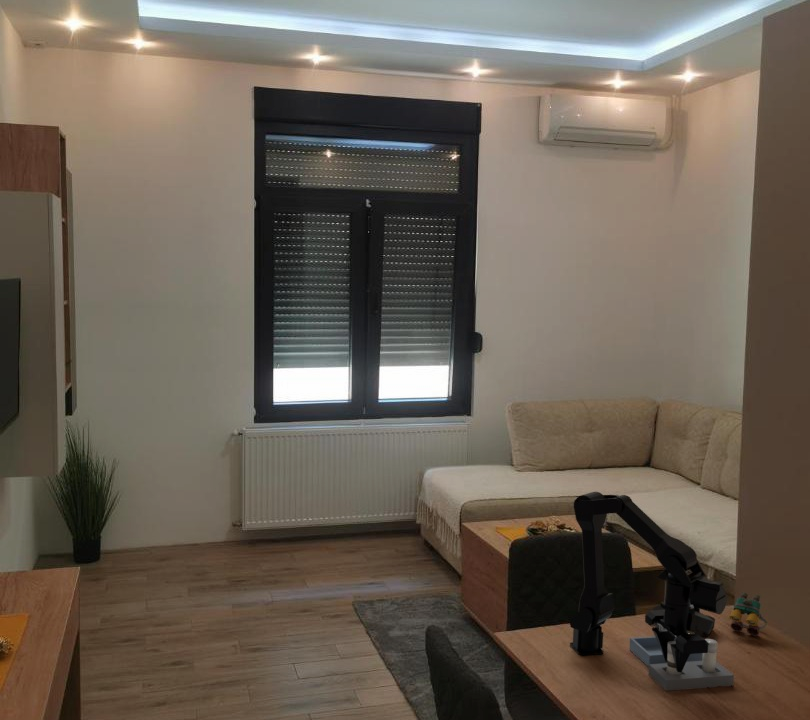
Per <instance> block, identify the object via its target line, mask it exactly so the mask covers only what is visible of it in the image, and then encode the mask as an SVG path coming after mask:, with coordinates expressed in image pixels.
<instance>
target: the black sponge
mask: <svg viewBox="0 0 810 720" xmlns="http://www.w3.org/2000/svg"><path fill="white" fill-rule="evenodd" d="M652 610H664V609H663V608H662V607H661V604H659V605H656V606H653V607H652ZM705 615H706V616H708V617H709V618H711V619H712V620H713V621H714V623H713V625H712V628H711V630H710V633H709V634H707V633H705V632H704V631H701V630H698V629H695V631H693V632H690V631H687V633H690V634H698V635H700V636H701V637H702V638H704V639H706V638H707V637H708V636H709V635H710V634H711V632H712V630H714V628H715V623H716V618H714V617H713V616H710V615H707V614H705ZM654 625H655V622H654ZM654 625H653V626H654Z"/></svg>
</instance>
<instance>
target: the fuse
mask: <svg viewBox="0 0 810 720" xmlns="http://www.w3.org/2000/svg"><path fill="white" fill-rule="evenodd" d="M704 639H705V640H706V641H707V642H708V643H709V652H708V653H703V656H702V669H701V670H703V671H704V672H705V673H712V672H716V671H715V668H716V661H717V652H718V643H719V642H718V641H716V639H712V638H704Z"/></svg>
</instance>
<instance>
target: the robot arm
mask: <svg viewBox="0 0 810 720" xmlns="http://www.w3.org/2000/svg"><path fill="white" fill-rule="evenodd" d="M573 511H574V516H575V520H576V522H577V524H578V525H579V527H580V529H581V540H582V541H581V543H582V559H583V560H582V561H583V580H584V581H583V582H584V584H583V590H582V593H581V595H580V598H579V603H578V611H577V612H576V613H575V614H574V615H572V616H571V617H570V618H568V622H569V626H570V628H571V629H573V632H572V642H569V646H570V647H571V648H572V649H573V650H574V651H575V652H576V653H577V655H579V656H587V655H588V656H589V655H603V654H604V653H605V651H604V650H603V646H604V632H603V629H602V626H601V625H605V624H606V621H607V620H608V619H609V618H610V617H611V616H612V615H613V610H615V609H616V608H615V605H614V599H615V598H614V597H615V595H614V593H613V592H611V593H609V591H608V590H607V589H606V586H605V571H604V570H605V569H604V553H603V552H604V551H603V549H604V548H603V526H604V523H605V521H606V519H607V515H608V514H616V515H617V516H618V517H619V518H620V519H622V521H624V523H626V525H628V526H629V527H630V528H631V529H632V530H633V531H634V532H635V533H636V534H637V535H638V536H639V537H640V538H641V539H642V540H643V541H645V542H646V544H647V545H648V546H649V547H651V549H652V550H653V551H654V553H655V556H656V559H657V561H658V562H659V563H660V565H662V567H663V568H664V569H663V571H662V572H660V573H659V574H656V578H657V579H658V580H661V581H665V587H664V588H665V589H664V601H660V605H661V607H662V608H663V609H664V610H653V609H652V610H651V609H650V610H647V612H646V613H645V615H644V622H645V623H646V624H647V625H648V626H649V627H651V631H652V633H653V635H654V636H655V637H656V639H657V641H658V644H659V646H660V649H661V651H662V654H663V656H664V659H665V661H666V662H667V654H668V652H667V647H668V642H669V641H674V639H675V637H677V638H676V644H670V645H671V650H672V654H673V658H674V663H675V667H676V670H677V672H682V670H683V668H684V666H685V664H686V662H687V659H688V657H689V656H690V654H698V653H708V652H709V643H708V642H707V641H706V640H705V639H706V638H702V637H701V636H700V635H698V634H688V633H687V631H690V632H693V631H695V629H698V630H701V631H704V632H705V633H707V634H709V633H710V634H711V632H710V630H711V628H712V625H713V623H714V621H713V620H712V619H711V618H709V617H708V616H709V615H708V616H706V615H707V614H705V613H703V612H702V611H701V610H703V611H707V612H710V613H713V614H716V615H721V614H722V613H723V612H724V611H725V609H726V605H727V601H728V596H727V592H726V589H725V588H724V583H723V582H720V581H714V580H709V579H706V577H707V575H706V573H705V571H704V569H703V568H702V566H701V565H700V562H699V561H698V559H697V553H696V551H695V550H694V549H693V548H692V547H690V546H689V545H687V544H686V543H685V542H683V541H682V540H681V539H678V538H676V537H673V536H671V535H670V534H668V533H667V532H665V530H664V529H662V528H661V527H660V526H659V525H658V524H657V523H656V522H655V521H654V520H653V519H652V518H651V517H650V516H648V514H647V513H645V511H643V510H642V509H641V508H640V507H639V506H638V505H637V504H636V503H634V501H633V500H632V498H631V497H630V496H629V495H626V494H620V495H616V494H602V493H601V492H600V491H592V492H588V493H585V494H581V495H579V496H577V497H576V499H574V501H573ZM687 572H690V573H689V574H688V573H687ZM654 622H655V626H654ZM653 626H654V627H653ZM711 631H712V630H711ZM710 634H709V635H710Z"/></svg>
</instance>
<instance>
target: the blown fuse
mask: <svg viewBox="0 0 810 720" xmlns="http://www.w3.org/2000/svg"><path fill="white" fill-rule="evenodd" d="M670 644H676V641H669V642H668V647H667V652H668V654H667V671H666V673H668V674H669V675H680V672H677V670H676V667H675V663H674V658H673V654H672V650H671V645H670Z"/></svg>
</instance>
